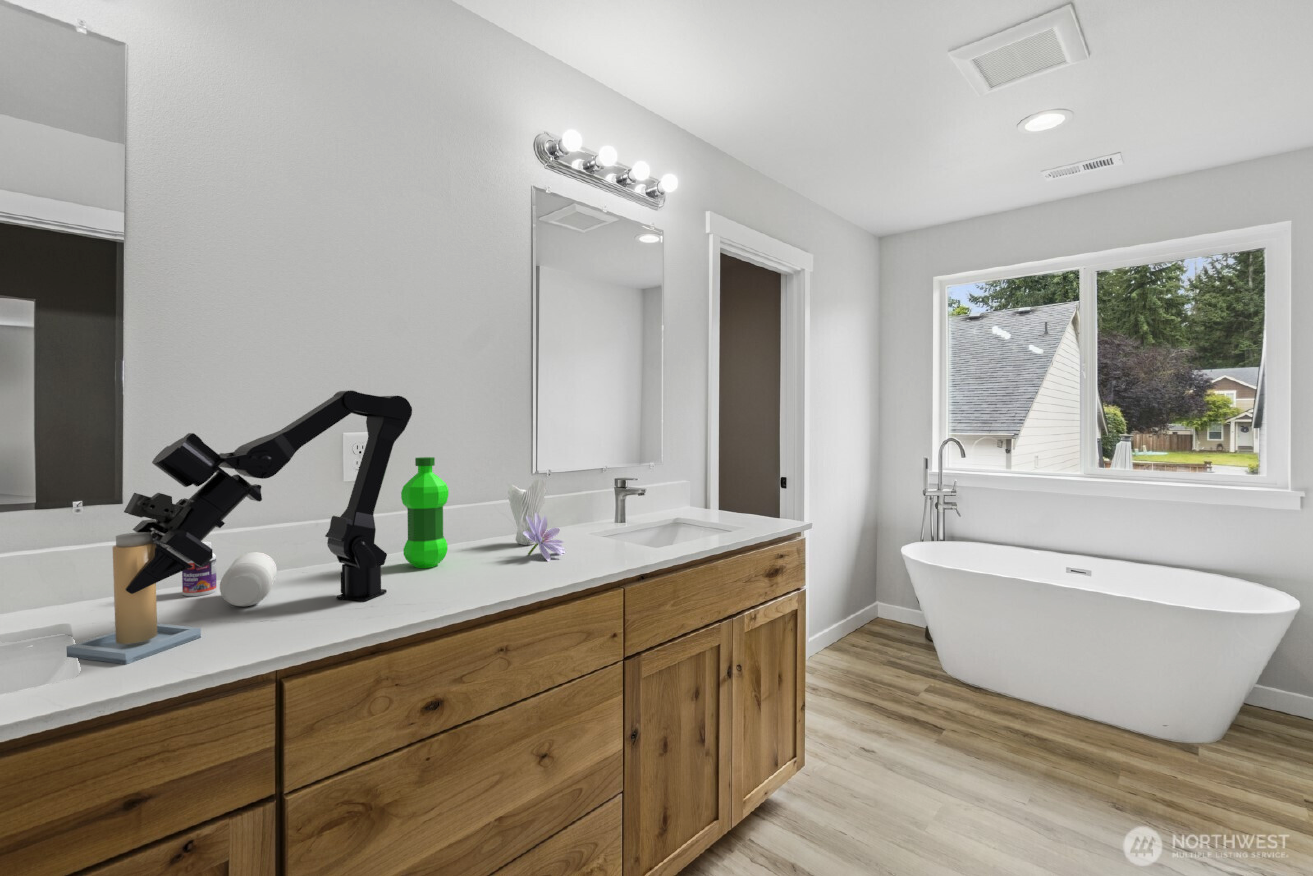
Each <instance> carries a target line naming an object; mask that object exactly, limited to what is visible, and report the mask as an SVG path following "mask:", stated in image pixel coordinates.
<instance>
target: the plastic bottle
mask: <svg viewBox="0 0 1313 876" xmlns="http://www.w3.org/2000/svg"><path fill="white" fill-rule="evenodd" d="M435 459H436V458H435V457H433V456H432V457H430V456H421V457H415V462H414V463H415V464H414V465H415V467H417V473H416V474H414V475H413V477H411V478H410V479H409V480H408V481H407V482H406V483H405V484H404V485H403V486H402V489H401V491H400V492H401V493H400V494H401V495H400V496H401V497H400V498H401V502H402V504H403V505H404V506H405V507H406V508H407V540H406V542H405V544H404V546H403V556H404V558H405V560H406V562H408V563H409V564H411V565H412V566H413V567H414V568H417V569H428V568H429V569H430V568H434V567H437V566H438V565H439V564H441V562H442V561H443V560H444V559H445V557H446V556H447V553H448V542H447V540H446V538H445V537H444V506H445V505H446V504H447V503H448V499H449V494H450V493H449V487H448V485H447V482H445V481H444V480H443V479H442V478H441V477H439V476H438V475H437V474H435V473H434V472H433V466H436V465H435V463H436V462H435V461H436V460H435Z"/></svg>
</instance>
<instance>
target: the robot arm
mask: <svg viewBox="0 0 1313 876" xmlns="http://www.w3.org/2000/svg"><path fill="white" fill-rule="evenodd" d="M351 414H354V415H358V416H361V417H366V421H365V424H366V430H367V437H368V438H367V441H366V445H365V447H364V451H363V454H362V457H361V461H360V464H359V467H358V471H357V474H356V478H355V481H354V484H353V487H352V490H351V493H350V497H349V500H348V504H347V507H346V509H345V510H344V511H343V513H342V514H341V515H340V516H337V515H332V516H331V519H330V522H329V523H330V525H329V529H328V530H327V532H326V534H325V535H324V537H325V538H327V542H326V543H327V547H328V549H329V551H330V552H331V553H332V554H333V555H334V556H336V559H337V561H338V563H340V564H341V572H340V594H338V595H335V596H336V597H335V599H337V600H348V601H360V602H365V601H368V600H371V599H373V598H376V597H377V596H378V597H379V596H380V595H384V594H386V593H387V589H385V588H384V589H383V588H382V566H384V565H385V563H386V561H387V556H388V553H387V552H385V550H383V549H382V548H381V547H379V546H378V545H377V544H376V543H375V538H376V530H377V529H376V521H375V518H374V517H375V515H374V513H375V509H376V506H377V502H378V499H379V496H380V492H381V488H382V485H383V482H384V478H385V475H386V471H387V467H388V464H389V461H390V458H391V455H392V450H393V449H394V448H393V447H394V444H395V442H396V441H397V440H398V439H399V438H400V437H401V435H402V434H403V432H405V430H406V428H407V425H408V424H409V422H410V420H411V418H412V415H413V407H412V405H411V404H410V402H409V401H408V399H407V398H406V397H404V396H401V395H381V396H380V395H373V394H368V393H367V394H366V393H362V392H358V391H356V390H351V389H350V390H339V391H337V392H335V394H334V395H332V397H330V398H328V399H327V400H326V401H324V402H322V403H321V404H319V405H317V406H315V407H314V408H313V409H311V410H309V411H308V412H306V413H305V414H303V415H302V416H300V417H299V418H296V420H294V421H293V422H291V423H290V424H288V425H285V427H283V428H281V429H279V430H277V431H275V432H273V433H270V434H266V435H264V436H261V437H258V438H256V439H254V440H251V441H249V442H246V443H245V444H244V443H243V444H242V445H240V446H238V447H237V448H236V449H235V450H234V451H231V452H225V453H224V452H220V453H217V452H216V451H215V449H214V450H213V448H212V447H210V446H208V444H206V443H205V442H204V441H203V440H202V439H201V438H200V437H199V436H198V435H197V434H195V433H194V432H193V433H192V432H188V433H187V434H185V436H183V437H181V438H180V439H178V440H175V441H174V442H173V443H172V444H170V445H167V446H165V447H164V448H163V449H162V450H161V451H159V453H157V454H156V455H155V457H154V458H153V460H152V462H151V464H153V465H154V466H156V467H157V468H158V469H159V470H160V471H162V472H163V473H165V474H166V475H168V476H169V477H170V478H171V479H173V480H175V482H177V483H178V484H180V485H181V486H182V487H184V488H187V487H190V486H195V487H197V488H198V487H200V486H201V487H200V488H199V489H198V490H197V491H196V492H195V493H194V494H193V495H191V497H190V498H186V497H185V498H181V499H179V500H178V501H177V502H176V503H173V496H172V495H170V494H169V495H168V494H165V493H162V492H157V493H154V495H152V496H148V495H145V494H140V493H137V492H134V493H133V494H132V496H131V498H130V499H129V500H128V501H129V502H128V503H127V505H126V507H125V509H124V511H123V513H125V514H128V515H130V516H133V517H137V518H140V519H141V518H147V519H142V520H141V521H140V522H139V523H138V524H137V525H135V526H134V528H132V531H134V533H137V532H149V533H151V542H152V543H151V557H150V558H149V560H148V561H147V562H146V563H145V565H144V566H143V567H142V568H141V570H140V571H139V572H138V573H137V575H136V576H135V577H134V578H133V580H132V581H131V582H130V584H129V585H128V586H127V588H126V589H125V590H126V591H127V592H129V593H131V594H133V593H136V592H138V591H140V590H142V589H144V588H146V587H148V586H150V585H153V584H155V583H156V584H157V583H159V582H161V581H164V580H165V579H167V578H169V577H172V576H174V575H176V574H179V573H182V571H184V570H186V569H190V568H192V567H193V566H191V565H190V564H188V563H189V562H190V561H193V562H194V564H195V565H197V566H199V567H202V568H203V567H204V566H205V565H206V564H207V563H208V562H209V561H210V560H211V559H212V558H213V554H212V553H213V548H212V547H211V548H210V547H208V546H207V545H206V544H204V543H203V542H204V541H203V540H204V539H205V538H207V536H208V535H210V533H211V532H212V531H213V530H214V529H215V528H219V529H221V528H222V527H223V526H224V525H225V524H226V522H224V521H223V520H225V518H226V517H228V515H229V514H231V513H232V512H233V511H234V510H235V509H236V508H237V507H238V505H239V504H241V503H242V501H244V500H245V499H246V498H248V499H249V500H251V501H254V502H262V500H263V497H262V485H261V484H257V483H256V484H251V483H250V482H249V481H247V480H246V479H245V478H244V477H247V478H248V477H249V478H254V479H263V480H264V479H269V478H272V477H274V476H275V475H277V474H278V473H279V471H281V470H282V469H283V468H284V467H285V466H286V465H287V464H288V463H289V462H290V461H291V460H292V458H293V457H294V456H295V454H296V453H297V452H298V450H300V448H302V447H304V445H306V444H308V443H309V442H311V441H312V440H314V439H315V438H317V437H318V436H320V435H321V434H323V433H324V432H326V431H327V430H328V429H330V428H331V427H333V426H334V425H336V424H337V423H339V422H340V421H342V420H343V419H345V418H347V416H350V415H351ZM222 468H223V469H222ZM225 468H226V469H231V470H234V471H235V472H237V473H238V474H233V475H230V474H229V472H228V473H227V472H226V471H225V470H224V469H225ZM242 476H243V477H242Z"/></svg>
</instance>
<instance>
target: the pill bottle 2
mask: <svg viewBox="0 0 1313 876" xmlns="http://www.w3.org/2000/svg"><path fill="white" fill-rule="evenodd" d="M277 568H278V567H277V565H276V562H275V561H274V559H273V558H272V557H271V556H269V555H268V554H266V553H263V552H257V551H254V552H252V551H251V552H247V553H244V554H243V555H241V556H239V557H238V558H236V559H235V560H234V561H233V562H232V563H231V564H230V566H229V567H228V569H227V570H226V571H225V573H224V574H223V576H222V577H221V578H220V583H219V592H220V595H221V597H222V598H223V599H224V601H226V602H227V603H229V604H230V605H232V606H236V607H243V608H244V607H252V606H254V605H256V604H258V603H260V602H262V601H263V600H264V599H265V598H266V597H267V596H268V595H269V593H270V590H271V588H272V587H273V584H274V582H275V579H276V577H277V573H278V572H277V571H278V569H277Z"/></svg>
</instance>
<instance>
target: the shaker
mask: <svg viewBox="0 0 1313 876" xmlns="http://www.w3.org/2000/svg"><path fill="white" fill-rule="evenodd" d="M151 543H152V542H151V533H149V532H128V533H122V534H118V535H116V536H115V545H113V546H112V568H113V569H112V572H113V575H112V576H113V599H114V601H113V604H114V628H115V629H114V630H115V631H114V632H115V637H116V643H119V644H129V643H136V642H141V641H145V640H149V639H151V638H154V637H156V636H157V623H158V611H157V609H158V608H157V583H155V584H153V585H150V586H148V587H146V588H144V589H142V590H140V591H138V592H136V593H133V594H131V593H129V592H127V591H126V590H125V589H126V588H127V586H128V585H129V584H130V582H131V581H132V580H133V578H134V577H135V576H136V575H137V573H138V572H139V571H140V570H141V568H142V567H143V566H144V565H145V563H146V562H147V561H148V560H149V558H150V557H151Z"/></svg>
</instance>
